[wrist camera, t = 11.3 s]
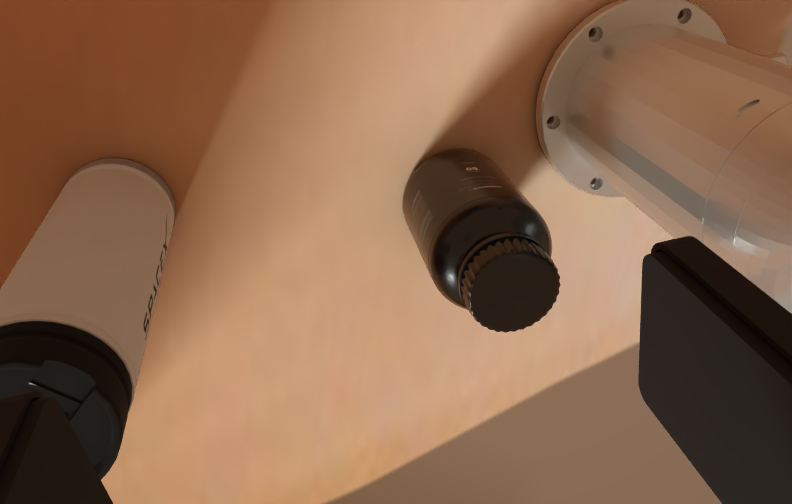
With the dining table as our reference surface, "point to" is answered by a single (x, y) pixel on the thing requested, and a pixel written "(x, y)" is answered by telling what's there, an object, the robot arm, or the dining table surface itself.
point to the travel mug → (88, 299)
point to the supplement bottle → (481, 240)
